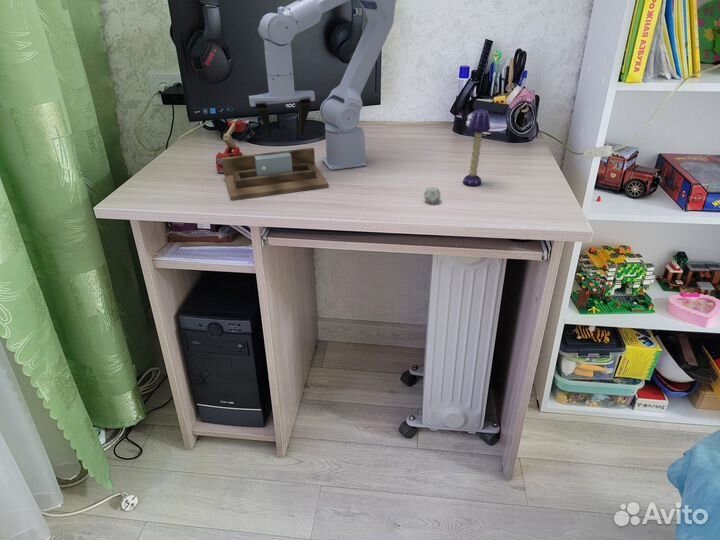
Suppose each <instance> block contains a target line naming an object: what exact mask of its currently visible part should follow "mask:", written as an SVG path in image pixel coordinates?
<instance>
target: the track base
mask: <svg viewBox="0 0 720 540" xmlns="http://www.w3.org/2000/svg"><path fill="white" fill-rule="evenodd" d="M287 152H289V153H290V154H291V158H292V170H293V172H289V173H281V174H273V175H265V176H257V173H256V164H255V156H261V155H270V154H279V153H287ZM315 159H316V158H315V148H314V147H305V148H300V149H299V148H297V149H290V150H289V149H288V150H281V151H271V152H265V153H254V154H246V155H243V156H236V157H227V158H222V163H223V169H224V173H223V174H224V179H225V184H226V187H227V190H228V191H227V192H228V195H229V199H230V201H231V200H232V201H238V199H240V200H246V198H247V199H253V198H259V197H261V198H262V197H269V196H274V195H275V196H276V195H282V194H291V193H296V192H297V193H298V192H299V193H300V192H306V191H313V190H320V189H326V188H327V189H329V187H330V186H329V182H328V181H327V179H326V178H325V177H324V175H323V174H322V173H321V171H320V169H319V168H318V167H317V165H316V160H315Z"/></svg>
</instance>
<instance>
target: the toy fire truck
mask: <svg viewBox="0 0 720 540" xmlns="http://www.w3.org/2000/svg"><path fill="white" fill-rule="evenodd" d="M227 123H228V130H227V131H226V133H224V134H223V139H222V141H223V142H224V143H225V144H226V149H225V150H224V152H223V153H222V152H218V153H217V154H216V155H215V165H216V172H218V173H221V174H222V173H223V174H224V169H223V163H222V158H227V157H236V156H244V155H243V152H242V151H240V146H237V145H236V144H235V141H234V139H233V137H232V134H233V133H235V132H238V133H242V132H244V130H246V128H247V127H246V122H245V121H228V122H227Z"/></svg>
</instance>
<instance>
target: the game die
mask: <svg viewBox="0 0 720 540" xmlns="http://www.w3.org/2000/svg"><path fill="white" fill-rule="evenodd" d="M423 198H424V200H425V202H426V203H428V204H431V205H433V204H436V203H438V202H439V200H441V192H440V189H439V188H438V187H435V186H430V187H427V188H426V189H425V191H424V192H423Z"/></svg>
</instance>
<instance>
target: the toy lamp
mask: <svg viewBox="0 0 720 540" xmlns="http://www.w3.org/2000/svg"><path fill="white" fill-rule="evenodd" d="M490 124H491V123H490V117H489V111H488V110H486V109H483V108H481V109H479V108H478V109H475V110H474V111H473V113H472V115H471V119H470V120H469V124H468V126H467V127H468V130H469V131H471V132H473V134H474V137H473V144H472V151H471V159H470V162H471V163H470V165H469V168H470V169H469V172H468V173H469V174H467V175H466V176H465V177H463V180H462V183H463V185H465V186H468V187H480V186H481V185H482V178H481V177H480V176H479V175H477V174H478V171H477V169H478V167H479V161H480V157H479V156H481V155H480V154H481V151H480V150H481V147H482V146H481V145H482V144H481V143H482V136H483V133H487V132H489V131H490V129H491V126H490Z"/></svg>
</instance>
